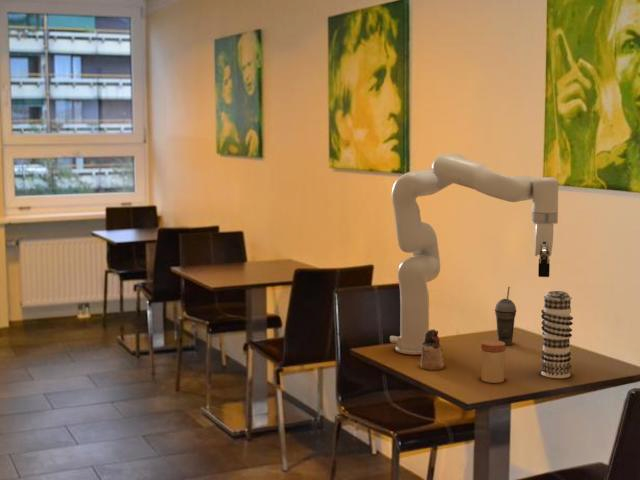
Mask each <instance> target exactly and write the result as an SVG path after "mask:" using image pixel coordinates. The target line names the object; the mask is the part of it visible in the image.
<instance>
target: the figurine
mask: <svg viewBox="0 0 640 480" xmlns="http://www.w3.org/2000/svg"><path fill="white" fill-rule="evenodd" d="M425 335H426V336H425V341H424V343H423V345H424V346H423V348H422V354H421V358H420V364H419V366H420V368H421V369H423V370H427V371H428V370H429V371H439V370H443V369H444V367H445V362H444V361H445V360H444V354H443V353H444V352H443V349H442V346H441V344H440V337H439V336H438V335H439V331H438V330H436V329H435V328H431V329H429V331H428V332H427V333H426V334H425Z"/></svg>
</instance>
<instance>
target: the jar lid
mask: <svg viewBox="0 0 640 480" xmlns="http://www.w3.org/2000/svg"><path fill="white" fill-rule="evenodd" d="M480 348H481V351H482V350H484V351H488V352H501V351H504V350H505V351H506V345H505V343H504V342H502V341H498V339H497V340H496V339H495V340H494V339H489V340H488V339H487V340H482V341H481V343H480Z"/></svg>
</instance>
